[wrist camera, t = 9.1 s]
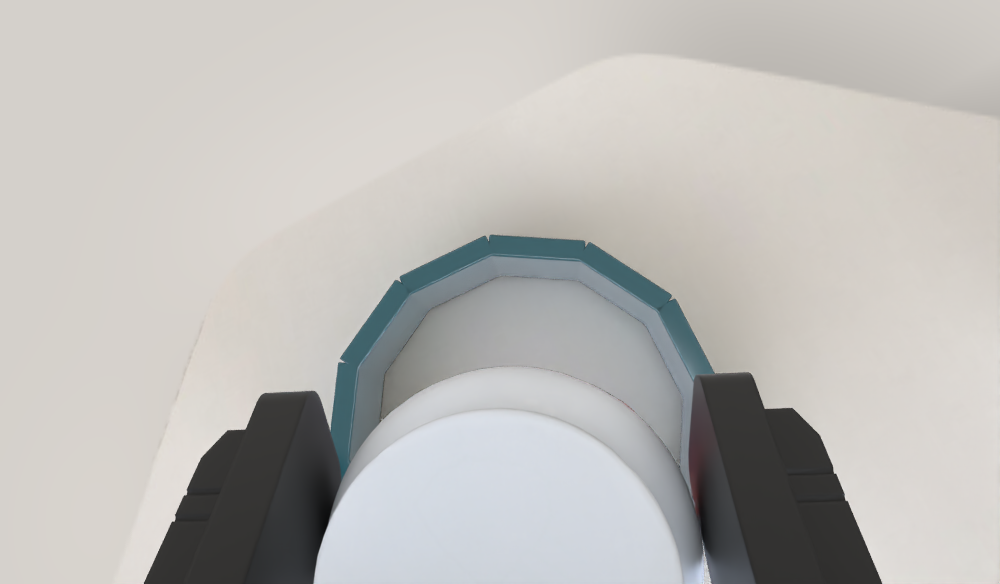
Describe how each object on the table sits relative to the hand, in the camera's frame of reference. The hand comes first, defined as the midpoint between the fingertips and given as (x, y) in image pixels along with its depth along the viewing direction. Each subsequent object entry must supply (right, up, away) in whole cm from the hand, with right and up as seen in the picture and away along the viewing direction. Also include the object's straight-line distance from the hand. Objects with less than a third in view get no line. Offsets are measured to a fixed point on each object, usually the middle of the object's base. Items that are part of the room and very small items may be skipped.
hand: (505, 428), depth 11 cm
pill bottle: (+1, -3, +7) cm, 7 cm away
